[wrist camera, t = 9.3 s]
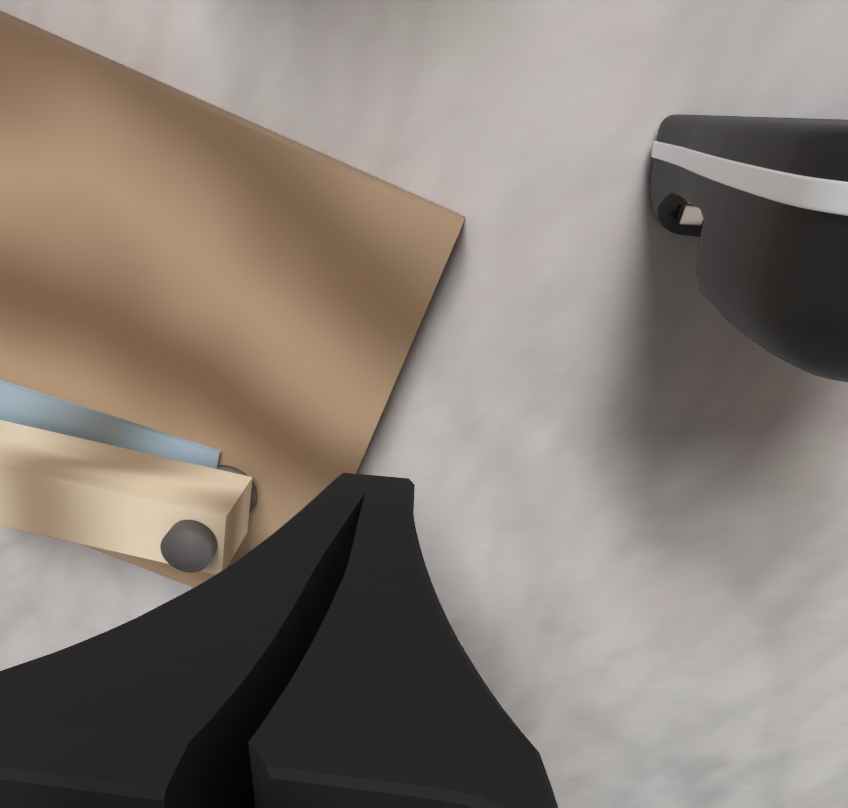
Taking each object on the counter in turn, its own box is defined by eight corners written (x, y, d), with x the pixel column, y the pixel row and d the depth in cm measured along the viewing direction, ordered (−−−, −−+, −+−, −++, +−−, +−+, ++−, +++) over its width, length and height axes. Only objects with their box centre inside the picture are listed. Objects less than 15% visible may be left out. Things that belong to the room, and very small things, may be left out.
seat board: (299, 603, 27) (289, 630, 25) (-52, 467, 26) (-82, 487, 24) (465, 217, 20) (462, 224, 18) (-15, 4, 18) (-56, -4, 17)
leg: (252, 477, 22) (218, 528, 20) (247, 532, 23) (214, 588, 21) (-56, 407, 22) (-132, 448, 20) (-47, 465, 23) (-118, 512, 21)
